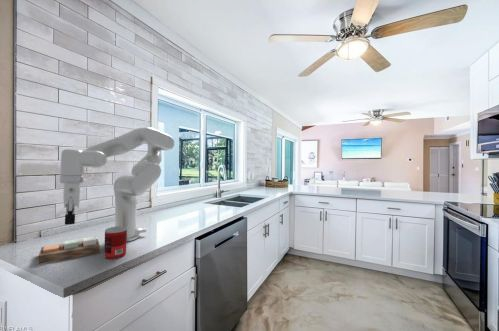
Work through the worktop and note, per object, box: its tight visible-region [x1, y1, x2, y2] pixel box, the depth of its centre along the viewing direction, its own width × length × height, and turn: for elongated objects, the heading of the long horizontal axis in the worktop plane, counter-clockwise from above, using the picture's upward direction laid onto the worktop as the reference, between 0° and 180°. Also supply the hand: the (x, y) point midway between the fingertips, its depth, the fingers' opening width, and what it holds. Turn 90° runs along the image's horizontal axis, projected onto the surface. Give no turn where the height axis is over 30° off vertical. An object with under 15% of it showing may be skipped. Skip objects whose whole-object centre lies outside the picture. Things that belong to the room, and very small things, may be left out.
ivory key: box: [82, 236, 97, 246], centre depth 98 cm, size 5×5×3 cm
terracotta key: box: [43, 244, 59, 253], centre depth 90 cm, size 5×5×3 cm
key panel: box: [37, 238, 101, 265], centre depth 94 cm, size 19×11×3 cm, turn 128°
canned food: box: [103, 226, 128, 260], centre depth 93 cm, size 8×8×11 cm
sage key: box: [63, 238, 79, 249], centre depth 94 cm, size 5×5×3 cm
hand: (69, 223), depth 93 cm, fingers closed
